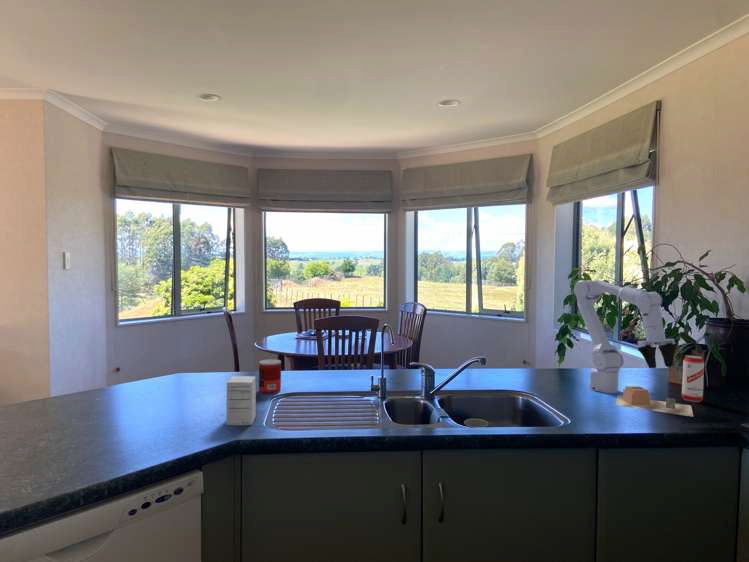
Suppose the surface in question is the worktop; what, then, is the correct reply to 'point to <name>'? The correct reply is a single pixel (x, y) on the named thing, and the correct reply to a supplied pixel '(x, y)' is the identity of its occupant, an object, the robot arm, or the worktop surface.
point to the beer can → (693, 378)
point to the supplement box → (241, 400)
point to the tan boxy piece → (636, 395)
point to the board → (660, 406)
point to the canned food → (269, 376)
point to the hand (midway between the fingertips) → (661, 367)
